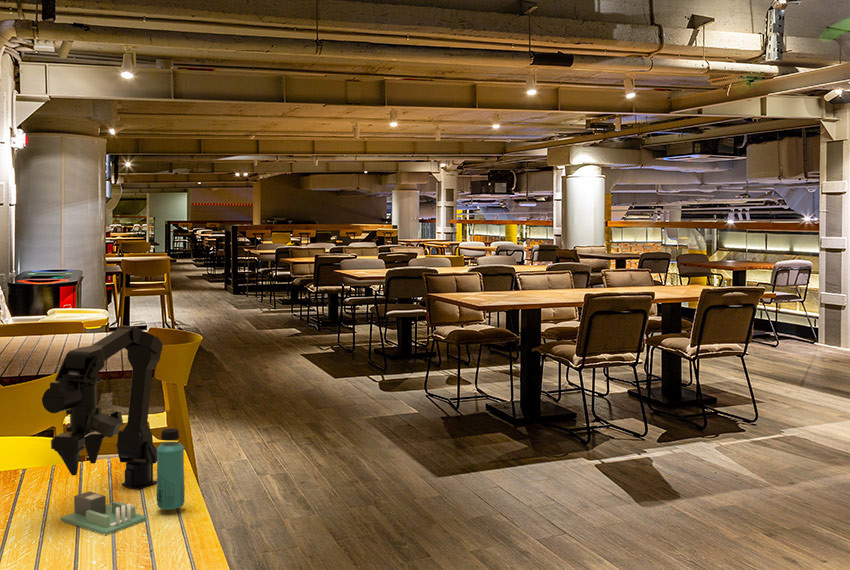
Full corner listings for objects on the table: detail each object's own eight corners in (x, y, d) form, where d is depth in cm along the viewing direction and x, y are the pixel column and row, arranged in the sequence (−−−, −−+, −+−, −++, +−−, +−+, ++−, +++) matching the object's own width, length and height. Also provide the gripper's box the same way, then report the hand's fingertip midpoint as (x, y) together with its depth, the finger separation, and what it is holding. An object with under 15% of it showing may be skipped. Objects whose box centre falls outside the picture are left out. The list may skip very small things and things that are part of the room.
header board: (60, 520, 177) (60, 500, 177) (101, 506, 187) (101, 487, 186) (105, 535, 169) (105, 514, 169) (146, 520, 179) (146, 499, 178)
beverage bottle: (190, 509, 186) (190, 428, 185) (170, 518, 180) (170, 434, 179) (170, 504, 189) (170, 424, 188) (150, 513, 183) (149, 430, 182)
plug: (74, 512, 180) (74, 495, 180) (89, 507, 184) (89, 490, 184) (90, 517, 177) (90, 500, 177) (105, 512, 181) (105, 495, 180)
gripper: (98, 414, 170) (98, 483, 171) (133, 396, 189) (134, 458, 190) (49, 412, 171) (50, 481, 172) (89, 395, 189) (89, 457, 190)
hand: (83, 469), depth 181 cm, fingers open, 9 cm apart
